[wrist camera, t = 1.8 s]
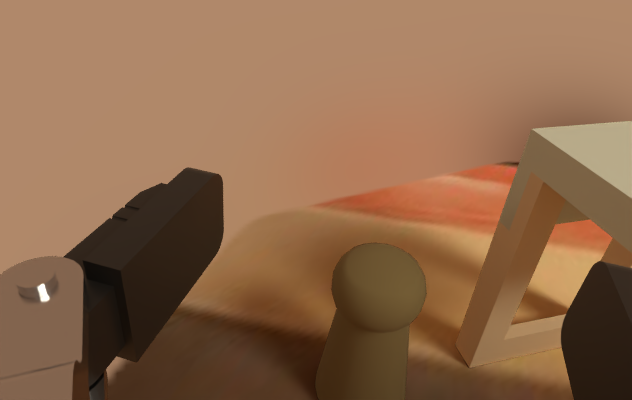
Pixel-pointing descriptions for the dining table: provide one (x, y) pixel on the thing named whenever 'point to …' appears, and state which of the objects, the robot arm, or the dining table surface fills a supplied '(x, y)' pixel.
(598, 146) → the cream side table
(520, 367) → the dining table surface
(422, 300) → the cork
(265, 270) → the dining table surface
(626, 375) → the robot arm
